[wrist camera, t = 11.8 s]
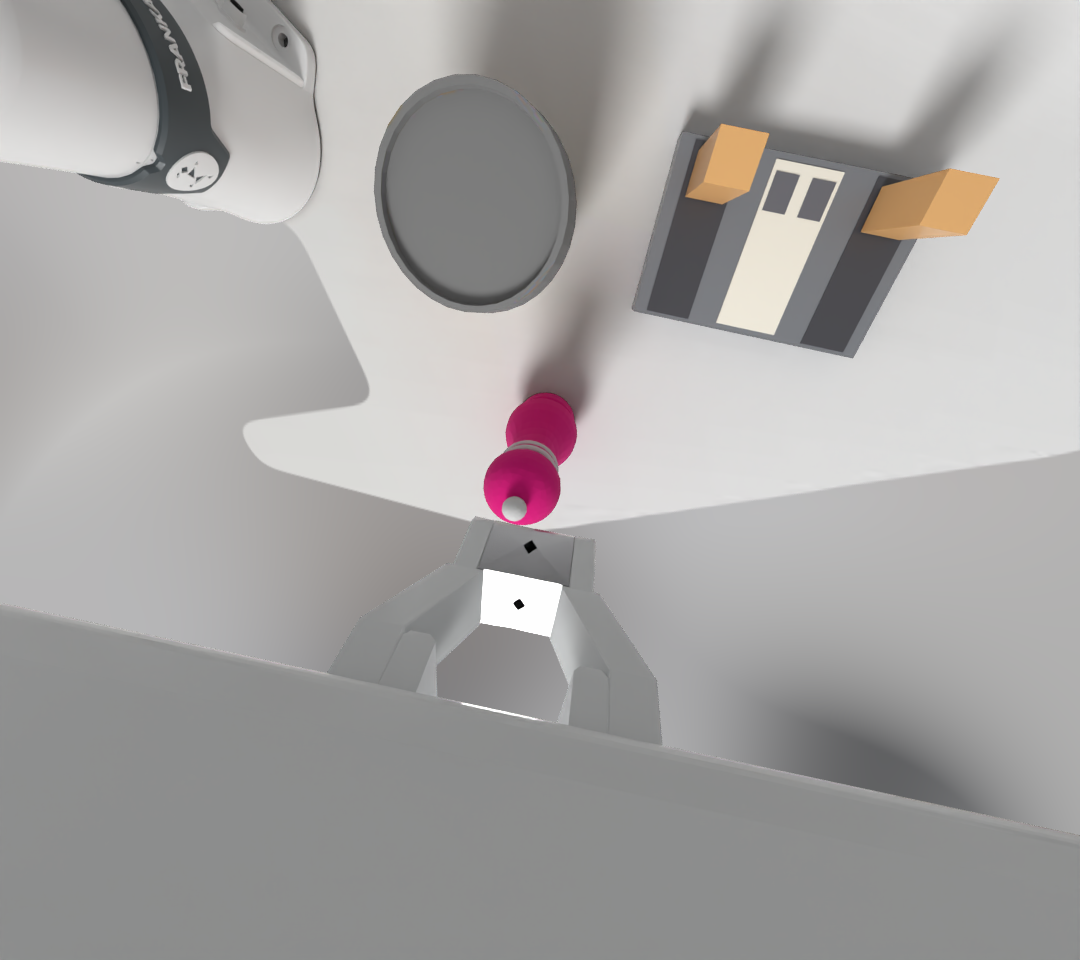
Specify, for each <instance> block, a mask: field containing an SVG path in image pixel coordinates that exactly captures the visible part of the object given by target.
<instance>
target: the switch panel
mask: <svg viewBox="0 0 1080 960" xmlns="http://www.w3.org/2000/svg"><path fill="white" fill-rule="evenodd" d="M709 138H710V137H708V136H703V135H698V134H694V133H689V132H684V131H683V132H682V134H681V135H680V137H679V139H678V141H677V145H676V148H675V152H674V156H673V159H672V163H671V167H670V170H669V174H668V178H667V181H666V185H665V189H664V192H663V196H662V200H661V203H660V207H659V211H658V214H657V218H656V222H655V225H654V229H653V233H652V236H651V240H650V244H649V247H648V251H647V255H646V258H645V262H644V266H643V269H642V273H641V277H640V281H639V284H638V288H637V292H636V295H635V299H634V303H633V306H632V309H633V311H636V312H641V313H645V314H650V315H654V316H659V317H664V318H668V319H673V320H678V321H682V322H687V323H692V324H696V325H701V326H705V327H710V328H715V329H719V330H724V331H729V332H733V333H738V334H742V335H747V336H752V337H756V338H761V339H766V340H770V341H775V342H779V343H784V344H789V345H793V346H798V347H803V348H807V349H812V350H817V351H821V352H826V353H830V354H835V355H840V356H844V357H849V358H853V357H854V355H855V354H856V352H857V350H858V348H859V346H860V344H861V342H862V341H863V339H864V337H865V335H866V333H867V331H868V329H869V328H870V326H871V324H872V322H873V320H874V318H875V316H876V315H877V313H878V311H879V309H880V307H881V305H882V303H883V302H884V300H885V298H886V296H887V294H888V292H889V291H890V289H891V287H892V285H893V283H894V281H895V279H896V278H897V276H898V274H899V272H900V270H901V268H902V266H903V265H904V263H905V261H906V259H907V257H908V255H909V253H910V252H911V250H912V248H913V246H914V244H915V242H916V240H917V239H906V240H896V239H891V238H886V237H881V236H877V235H872V234H867V233H862V232H861V230H862V228H863V226H864V224H865V222H866V220H867V217H868V215H869V213H870V211H871V209H872V207H873V205H874V203H875V201H876V199H877V197H878V195H879V192H880V190H881V188H882V187H883V186H887V185H890V184H894V183H898V182H901V181H905V180H909V179H913V178H911V177H906V176H901V175H896V174H892V173H887V172H882V171H877V170H872V169H867V168H862V167H857V166H852V165H847V164H842V163H837V162H832V161H827V160H822V159H817V158H812V157H807V156H802V155H797V154H793V153H788V152H783V151H778V150H773V149H768V148H764V151H763V153H762V156H761V159H760V162H759V165H758V168H757V170H756V173H755V176H754V179H753V182H752V184H751V187H750V190H749V192H747V193H745V194H743V195H741V196H739V197H736V198H734V199H732V200H730V201H728V202H726V203H724V204H718V203H713V202H708V201H703V200H698V199H694V198H689V197H685V195H686V192H687V188H688V185H689V181H690V178H691V175H692V171H693V168H694V164H695V161H696V158H697V154H698V151H699V149H700V148H701V147H702V146H703V145H704V143H705V142H706V141H707V140H708V139H709Z"/></svg>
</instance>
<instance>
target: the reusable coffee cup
mask: <svg viewBox="0 0 1080 960" xmlns="http://www.w3.org/2000/svg"><path fill="white" fill-rule="evenodd" d="M374 195H375V203H376V212H377V217H378V220H379V224H380V228H381V231H382V235H383V237H384V240H385V242H386V244H387V246H388V249H389V251H390V253H391V255H392V257H393V258H394V260H395V261H396V263H397V264H398V266H399V267H400V269H401V271H402V272H403V273H404V274H405V276H406V277H407V278H408V279H409V280H410V281H411V282H412V283H413V284H414V285H415V286H416V288H418V289H419V290H420V291H422V292H423V293H424V294H426V295H427V296H428V297H430V298H431V299H433V300H435V301H436V302H438V303H440V304H442V305H444V306H446V307H449V308H453V309H456V310H460V311H464V312H477V313H495V312H501V311H508V310H510V309H513V308H515V307H518V306H521V305H523V304H525V303H526V302H528V301H529V300H531V299H532V298H534V297H535V296H537V295H538V294H539V293H540V292H541V291H542V290H543V289H544V288H545V287H546V286H547V285H548V284H549V283H550V282H551V281H552V279H553V278H554V276H555V275H556V274H557V272H558V271H559V269H560V268H561V266H562V264H563V262H564V259H565V257H566V255H567V252H568V250H569V248H570V245H571V240H572V236H573V232H574V228H575V219H576V204H577V202H576V192H575V182H574V177H573V173H572V170H571V166H570V162H569V159H568V156H567V154H566V152H565V150H564V148H563V146H562V143H561V141H560V139H559V137H558V135H557V134H556V133H555V131H554V130H553V128H552V127H551V126H550V124H549V123H548V122H547V120H546V119H545V117H544V116H543V115H542V114H541V113H540V112H539V111H538V110H537V109H536V108H535V107H534V106H533V105H532V104H530V103H529V102H528V101H527V100H526V99H525V98H524V97H523V96H522V95H520V94H519V93H518V92H517V91H515V90H514V89H512V88H510V87H508V86H507V85H505V84H503V83H501V82H499V81H498V80H495V79H491V78H487V77H484V76H480V75H476V74H455V75H451V76H447V77H444V78H440V79H436V80H434V81H432V82H430V83H429V84H427V85H425V86H423V87H422V88H420V89H418V90H417V91H415V92H414V93H413V94H412V95H411V96H410V97H409V98H408V99H407V100H406V101H405V102H404V103H403V104H402V105H401V106H400V108H399V109H398V111H397V112H396V114H395V115H394V117H393V118H392V120H391V121H390V123H389V124H388V127H387V129H386V132H385V134H384V137H383V139H382V141H381V144H380V147H379V152H378V157H377V161H376V166H375V182H374Z"/></svg>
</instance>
